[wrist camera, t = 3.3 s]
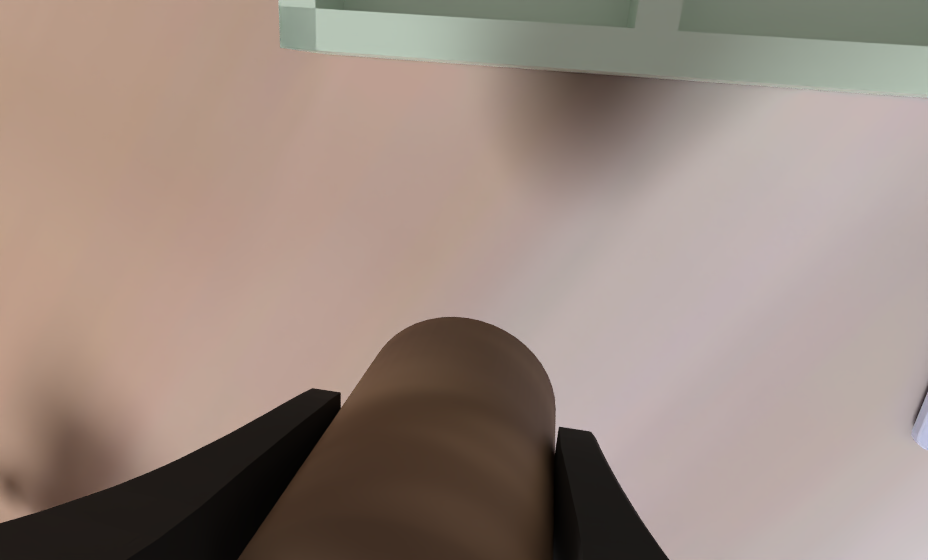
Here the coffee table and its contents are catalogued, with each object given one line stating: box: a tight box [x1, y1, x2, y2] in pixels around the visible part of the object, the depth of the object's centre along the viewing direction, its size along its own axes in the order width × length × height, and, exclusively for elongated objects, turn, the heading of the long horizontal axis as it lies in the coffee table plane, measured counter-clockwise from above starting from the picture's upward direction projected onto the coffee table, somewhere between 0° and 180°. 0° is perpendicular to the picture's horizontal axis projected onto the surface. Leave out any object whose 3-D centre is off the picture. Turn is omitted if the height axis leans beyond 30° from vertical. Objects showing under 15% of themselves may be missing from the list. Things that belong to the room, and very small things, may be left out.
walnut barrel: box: [237, 317, 556, 560], centre depth 10 cm, size 4×4×6 cm
